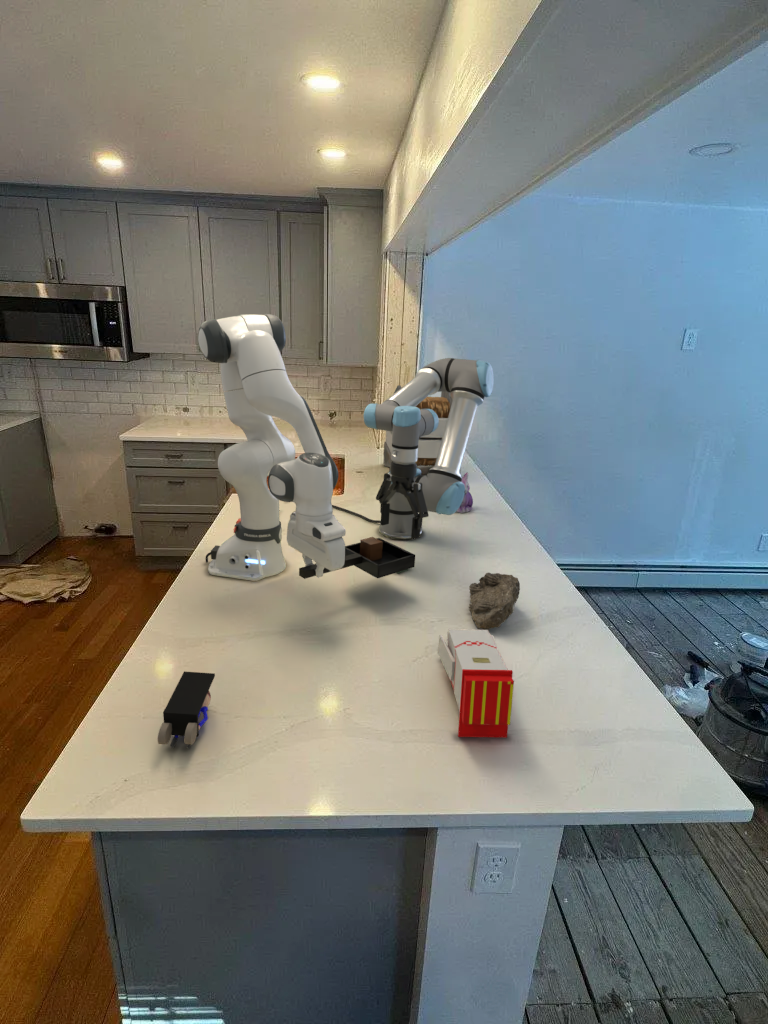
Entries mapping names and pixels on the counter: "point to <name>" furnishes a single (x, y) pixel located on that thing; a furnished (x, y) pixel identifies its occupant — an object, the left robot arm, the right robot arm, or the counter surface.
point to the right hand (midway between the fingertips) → (399, 531)
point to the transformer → (427, 443)
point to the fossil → (493, 599)
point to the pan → (388, 564)
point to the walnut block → (371, 548)
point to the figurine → (466, 496)
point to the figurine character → (186, 708)
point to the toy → (478, 682)
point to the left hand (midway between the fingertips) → (314, 573)
